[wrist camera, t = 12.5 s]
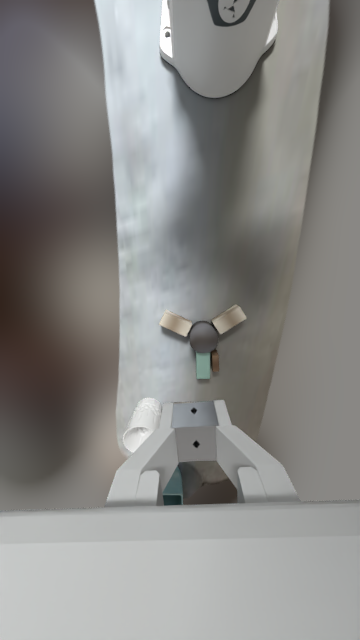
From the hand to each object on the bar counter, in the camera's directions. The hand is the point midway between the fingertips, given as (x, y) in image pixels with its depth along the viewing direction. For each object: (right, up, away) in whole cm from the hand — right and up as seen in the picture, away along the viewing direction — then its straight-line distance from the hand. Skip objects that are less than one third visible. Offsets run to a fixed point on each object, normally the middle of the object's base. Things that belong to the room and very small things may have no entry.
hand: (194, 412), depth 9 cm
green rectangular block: (+5, -5, +36) cm, 37 cm away
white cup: (-9, -19, +41) cm, 46 cm away
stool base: (+5, 0, +35) cm, 35 cm away
